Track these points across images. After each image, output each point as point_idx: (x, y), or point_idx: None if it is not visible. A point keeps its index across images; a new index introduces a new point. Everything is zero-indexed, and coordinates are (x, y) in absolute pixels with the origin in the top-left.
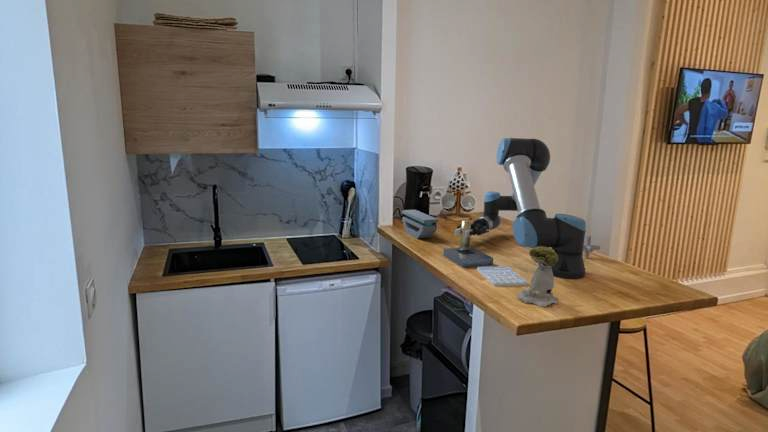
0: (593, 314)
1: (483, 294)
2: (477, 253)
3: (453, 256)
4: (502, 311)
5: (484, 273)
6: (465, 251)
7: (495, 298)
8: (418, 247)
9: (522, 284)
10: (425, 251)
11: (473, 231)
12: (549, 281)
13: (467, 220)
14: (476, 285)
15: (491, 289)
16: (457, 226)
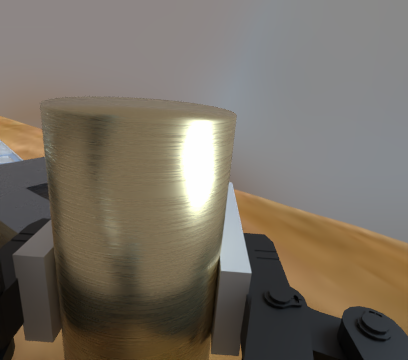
0: None
1: (28, 131)
2: (16, 189)
3: None
4: (4, 119)
5: (11, 151)
6: None
7: (7, 128)
8: (364, 251)
9: None
10: (285, 226)
11: (5, 253)
12: None
13: (147, 119)
14: (40, 140)
15: (7, 137)
16: (376, 312)
